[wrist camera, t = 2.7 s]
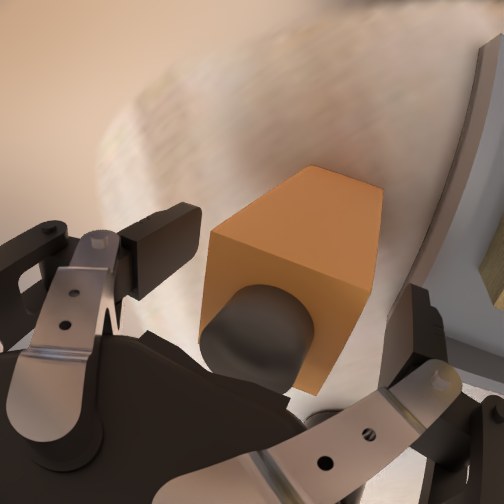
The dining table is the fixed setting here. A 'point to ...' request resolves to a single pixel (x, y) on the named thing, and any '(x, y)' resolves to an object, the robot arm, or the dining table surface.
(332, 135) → the dining table surface
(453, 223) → the walled box
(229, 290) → the block
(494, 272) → the inlet
